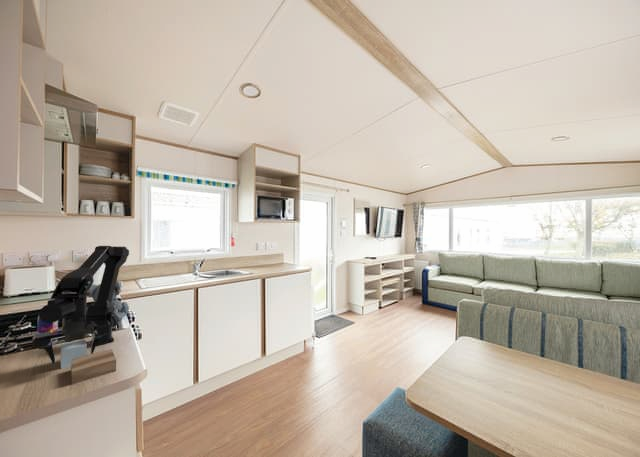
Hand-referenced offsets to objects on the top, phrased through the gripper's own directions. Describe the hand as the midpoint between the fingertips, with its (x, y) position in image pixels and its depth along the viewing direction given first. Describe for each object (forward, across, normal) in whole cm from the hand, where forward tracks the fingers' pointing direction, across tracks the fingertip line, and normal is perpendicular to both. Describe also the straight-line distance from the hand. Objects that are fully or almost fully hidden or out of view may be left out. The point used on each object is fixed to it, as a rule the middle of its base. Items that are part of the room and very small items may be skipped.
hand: (73, 358), depth 85 cm
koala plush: (+2, +13, +42) cm, 44 cm away
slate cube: (+1, 0, 0) cm, 1 cm away
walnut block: (+2, +4, -12) cm, 13 cm away
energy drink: (+1, -6, +25) cm, 26 cm away
